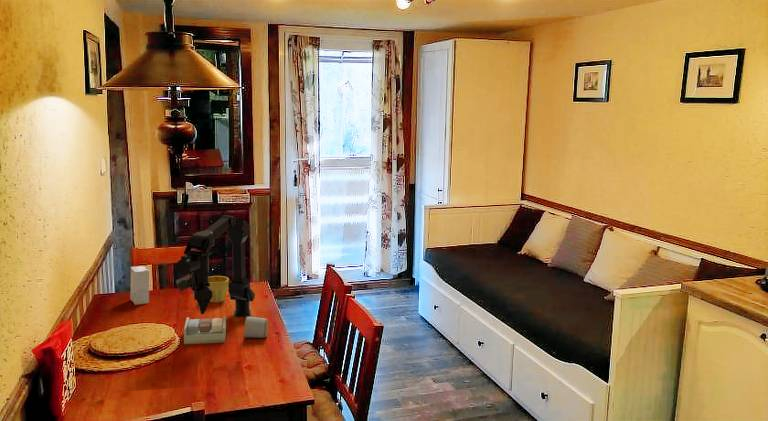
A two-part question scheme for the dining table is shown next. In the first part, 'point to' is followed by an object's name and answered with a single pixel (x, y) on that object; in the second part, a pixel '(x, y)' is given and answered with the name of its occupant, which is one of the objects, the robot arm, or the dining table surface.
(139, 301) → the skincare box
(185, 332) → the key bed
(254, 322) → the ceramic mug
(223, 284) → the plant pot
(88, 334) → the dining table surface
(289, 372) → the dining table surface
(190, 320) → the grey flat block
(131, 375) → the dining table surface
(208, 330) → the brown rectangular block
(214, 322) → the ivory key
